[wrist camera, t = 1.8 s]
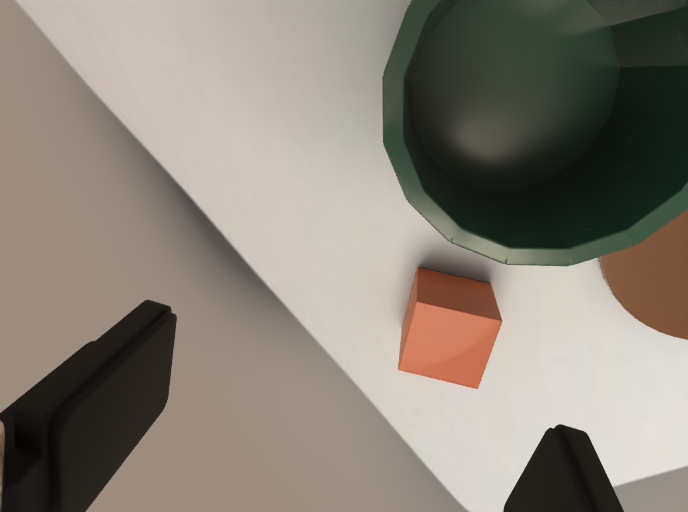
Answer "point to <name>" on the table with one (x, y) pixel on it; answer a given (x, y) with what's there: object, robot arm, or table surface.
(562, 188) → the canister
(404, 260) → the table surface
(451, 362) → the block
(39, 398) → the robot arm
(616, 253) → the canister lid
